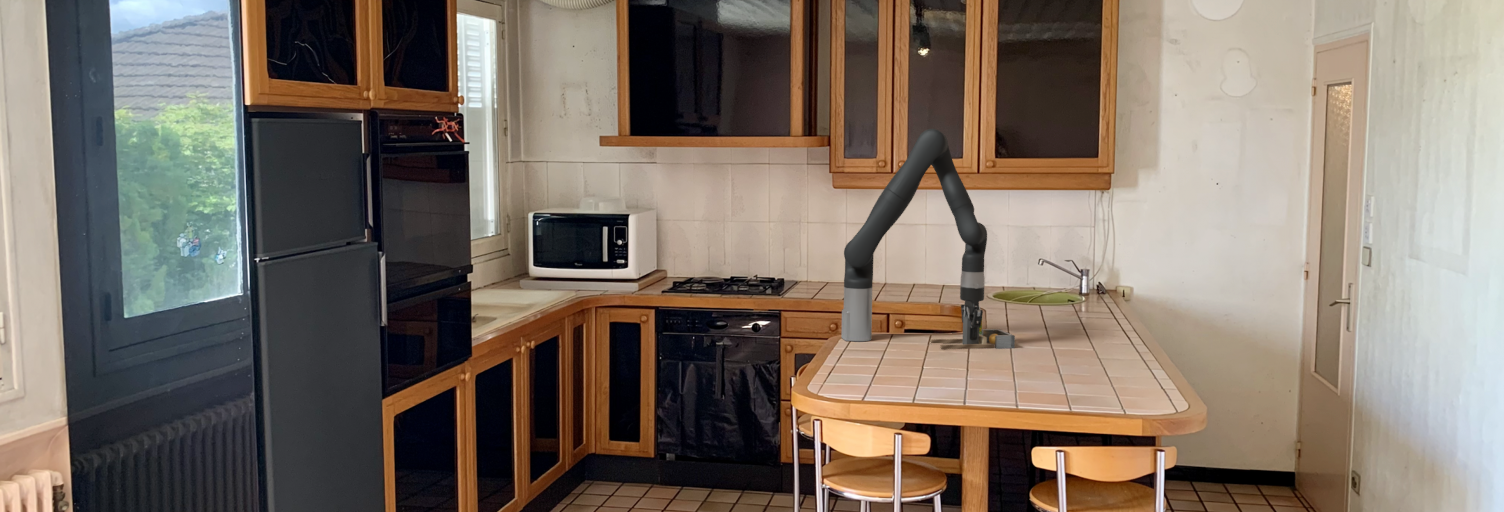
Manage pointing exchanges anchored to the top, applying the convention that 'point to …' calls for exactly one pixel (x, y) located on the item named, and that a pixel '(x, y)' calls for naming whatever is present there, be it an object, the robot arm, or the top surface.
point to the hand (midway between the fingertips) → (970, 338)
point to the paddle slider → (966, 334)
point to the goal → (1000, 338)
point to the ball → (992, 338)
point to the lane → (959, 346)
